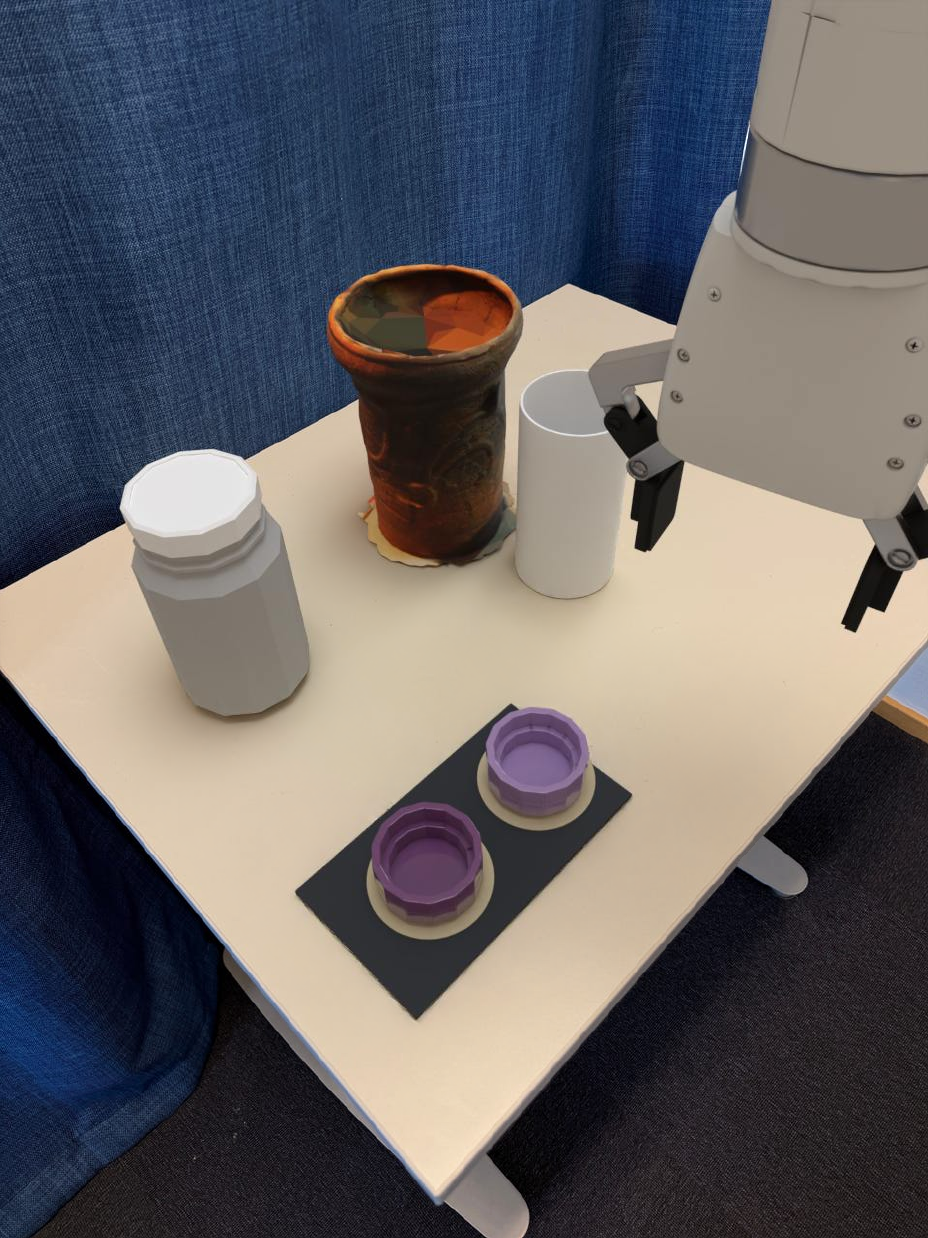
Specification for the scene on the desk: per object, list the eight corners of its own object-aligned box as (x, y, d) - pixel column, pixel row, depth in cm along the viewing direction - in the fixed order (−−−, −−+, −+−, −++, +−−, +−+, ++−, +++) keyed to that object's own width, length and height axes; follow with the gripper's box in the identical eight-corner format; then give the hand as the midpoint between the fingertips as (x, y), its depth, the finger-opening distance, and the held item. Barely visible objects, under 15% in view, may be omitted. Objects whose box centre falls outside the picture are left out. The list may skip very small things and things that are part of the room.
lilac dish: (547, 720, 64) (550, 691, 62) (604, 791, 60) (609, 763, 58) (468, 762, 62) (467, 733, 60) (521, 837, 58) (523, 810, 56)
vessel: (403, 448, 87) (384, 244, 72) (542, 487, 82) (553, 278, 67) (326, 543, 78) (286, 334, 63) (476, 591, 74) (472, 379, 59)
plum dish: (448, 811, 60) (446, 784, 57) (503, 894, 56) (503, 868, 53) (358, 859, 58) (352, 833, 55) (409, 949, 54) (404, 925, 51)
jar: (174, 645, 71) (99, 461, 57) (296, 610, 73) (251, 425, 59) (194, 742, 64) (116, 562, 51) (327, 701, 67) (285, 518, 53)
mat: (515, 702, 66) (515, 698, 66) (636, 792, 61) (637, 788, 61) (295, 893, 57) (294, 890, 56) (416, 1020, 51) (415, 1017, 51)
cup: (589, 520, 79) (606, 359, 67) (630, 584, 74) (656, 421, 62) (501, 542, 77) (503, 381, 66) (536, 609, 72) (545, 447, 60)
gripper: (1183, 198, 27) (969, 588, 40) (657, 105, 34) (616, 466, 47) (1155, 309, 23) (926, 705, 36) (562, 180, 30) (545, 553, 43)
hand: (751, 570), depth 41 cm, fingers open, 9 cm apart
